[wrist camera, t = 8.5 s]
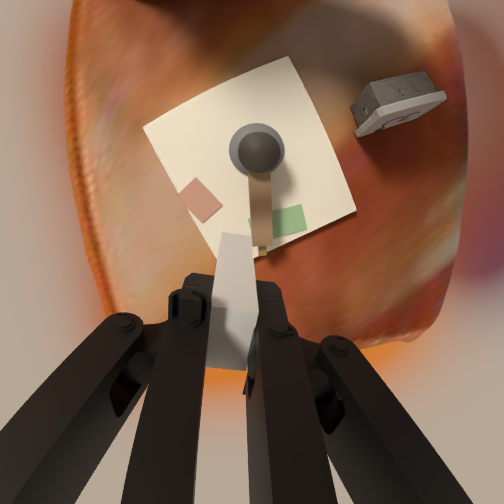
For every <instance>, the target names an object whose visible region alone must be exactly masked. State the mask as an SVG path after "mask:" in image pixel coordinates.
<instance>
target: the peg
mask: <svg viewBox="0 0 504 504" xmlns="http://www.w3.org/2000/svg"><path fill="white" fill-rule="evenodd" d="M280 154H281V151H280V146H279V143H278V142H277V140H276V139H275V138H274V137H273V136H272V135H270V134H268V133H265V132H252V133H249V134H247V135H246V136H244V137H243V138H242V140H241V141H240V143H239V146H238V157H239V160H240V162H241V164H242V165H243V166H244V167H245V168H246V169H247V170H248V185H249V203H250V220H251V238H252V246H253V247H256V246H258V255H259V256H266V255H267V251H266V246H272V245H273V226H272V196H271V169H273V168H274V167H275V166H276V165H277V163H278V161H279V159H280Z"/></svg>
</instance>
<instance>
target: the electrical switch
mask: <svg viewBox="0 0 504 504" xmlns="http://www.w3.org/2000/svg"><path fill="white" fill-rule="evenodd" d="M370 86H371V87H370ZM371 88H372V89H371ZM397 88H398V89H397ZM446 99H447V97H446V94H445V92H444V91H440V92H438V91H437V90H436V89H435V86H434V84H433V83H432V82H431V81H430V79H429V77H428V75H427V74H426V72H425V71H419V72H414V73H409V74H404V75H400V76H395V77H391V78H386V79H382V80H378V81H374V82H370V83H369V84H367V86H366V87H365V88H364V90H363V91H362V92H361V94H360V95H359V96H358V98H357V99H356V100H355V102H354V103H353V104H352V106H351V107H350V109H351V111H352V113H353V115H354V117H355V120H356V122H357V124H358V127H359V128H358V129H356V130H354V132H355V134H356V136H357V137H362V136H365V135H368V134H371V133H374V132H377V131H380V130H383V129H386V128H389V127H392V126H395V125H398V124H401V123H404V122H408V121H411V120H413V119H415V118H419V117H420V116H421V115H423V114H424V113H426V112H428V111H429V110H431V109H433V108H434V107H436V106H437V105H439V104H440V103H442V102H443V101H445V100H446Z"/></svg>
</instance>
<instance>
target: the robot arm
mask: <svg viewBox="0 0 504 504" xmlns="http://www.w3.org/2000/svg"><path fill="white" fill-rule="evenodd" d="M247 365H248V373H247V377H246V382H245V386H244V390H243V395H245V394H246V415H247V443H248V444H247V445H248V472H249V495H250V504H338V502H337V498H336V493H335V488H334V483H333V479H332V474H331V469H330V465H329V460H328V456H329V458H330V460H331V462H332V463H333V466H334V468H335V470H336V471H337V473H338V475H339V477H340V479H341V480H342V483H343V484H344V486H345V488H346V490H347V492H348V494H349V495H350V497H351V499H352V501H353V503H354V504H473V503H472V501H471V500H470V498H469V497H468V496H467V494H466V492H465V491H464V490H463V488H462V487H461V485H460V484H459V483H458V481H457V480H456V479H455V477H454V476H453V475H452V473H451V471H450V470H449V469H448V467H447V466H446V465H445V463H444V462H443V460H442V459H441V458H440V456H439V455H438V454H437V452H436V451H435V449H434V448H433V446H432V445H431V444H430V442H429V441H428V440H427V438H426V437H425V436H424V434H423V433H422V431H421V430H420V429H419V427H418V426H417V425H416V424H415V422H414V421H413V419H412V418H411V417H410V415H409V414H408V413H407V411H406V410H405V409H404V408H403V406H402V405H401V403H400V402H399V401H398V400H397V398H396V397H395V396H394V394H393V393H392V392H391V390H390V389H389V388H388V387H387V385H386V384H385V383H384V381H383V380H382V379H381V377H380V376H379V375H378V373H377V372H376V371H375V370H374V368H373V367H372V366H371V364H370V363H369V362H368V361H367V359H366V358H365V357H364V355H363V354H362V353H361V352H360V350H359V349H358V348H357V346H356V345H355V344H354V343H353V342H351V341H350V340H348V339H346V338H344V337H341V336H327V337H325V338H324V339H323V340H322V341H321V343H320V344H319V343H315V342H311V341H308V340H305V339H303V338H301V337H299V336H298V332H297V330H296V329H295V327H294V326H292V325H291V324H290V323H289V322H288V318H287V314H286V309H285V305H284V301H283V298H282V293H281V289H280V288H279V287H278V286H277V285H276V284H275V282H267V281H259V280H255V270H254V260H253V250H252V241H251V236H249V235H241V234H234V233H227V232H222V234H221V240H220V246H219V252H218V258H217V265H216V271H215V276H213V275H205V274H198V273H191V274H190V275H188V276H187V277H186V278H185V280H184V283H183V286H182V289H177V290H175V291H174V292H172V293H171V294H170V295H169V304H168V320H167V321H165V322H162V323H158V324H145V325H143V321H142V320H141V319H140V317H138V316H136V315H135V314H131V313H127V312H124V313H116V314H112V315H110V316H109V317H107V318H106V319H105V320H104V321H103V322H102V323H101V324H100V325H99V326H98V327H97V328H96V329H95V330H94V331H93V332H92V333H91V334H90V335H89V336H88V337H87V338H86V339H85V340H84V341H83V342H82V343H81V344H80V345H79V346H78V347H77V348H76V349H75V350H74V351H73V352H72V353H71V354H70V355H69V356H68V357H67V358H66V359H65V360H64V361H63V362H62V363H61V365H59V367H58V368H57V369H56V370H55V371H54V372H53V373H52V374H51V375H50V376H49V377H48V378H47V379H46V380H45V381H44V382H43V383H42V385H41V386H40V387H39V388H38V389H37V390H36V391H35V392H34V393H33V394H32V395H31V397H30V398H29V399H28V400H27V401H26V402H25V403H24V404H23V406H22V407H21V408H20V409H19V410H18V411H17V412H16V414H15V415H14V416H13V417H12V418H11V419H10V420H9V422H8V423H7V424H6V425H5V426H4V427H3V429H2V430H1V431H0V504H74V503H75V502H76V500H77V499H78V497H79V495H80V494H81V492H82V490H83V489H84V487H85V486H86V484H87V482H88V481H89V479H90V477H91V476H92V474H93V472H94V471H95V469H96V468H97V466H98V464H99V463H100V461H101V459H102V458H103V456H104V455H105V453H106V451H107V450H108V448H109V447H110V445H111V443H112V442H113V440H114V439H115V437H116V435H117V434H118V432H119V430H120V429H121V427H122V426H123V424H124V423H125V421H126V420H127V418H128V416H129V415H130V413H131V412H132V410H133V408H134V407H135V405H136V404H137V402H138V400H139V399H140V397H141V396H142V394H143V393H144V391H145V389H146V388H147V386H148V389H147V392H146V395H145V399H144V403H143V407H142V411H141V414H140V418H139V423H138V427H137V431H136V435H135V439H134V443H133V448H132V452H131V456H130V461H129V465H128V470H127V474H126V479H125V484H124V489H123V494H122V499H121V504H194V496H195V494H194V493H195V480H196V465H197V452H198V440H199V428H200V417H201V406H202V396H203V386H204V376H205V375H204V374H205V367H213V368H222V369H231V370H242V371H245V370H246V367H247ZM148 384H149V385H148ZM327 454H328V456H327Z"/></svg>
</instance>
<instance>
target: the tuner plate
mask: <svg viewBox="0 0 504 504" xmlns="http://www.w3.org/2000/svg"><path fill="white" fill-rule="evenodd" d="M143 129H144V131H145V133H146V135H147V137H148V138H149V140H150V142H151V144H152V146H153V148H154V150H155V151H156V153H157V155H158V157H159V159H160V161H161V162H162V164H163V166H164V168H165V170H166V172H167V173H168V175H169V177H170V179H171V181H172V182H173V184H174V186H175V188H176V190H177V191H178V193H179V194H178V195H177V196H176V197H177V198H178V199H179V200H180V201H181V202H182V203H183V204H184V205H185V206H186V207H187V209H188V211H189V213H190V214H191V216H192V218H193V220H194V221H195V223H196V225H197V226H198V228H199V230H200V232H201V233H202V235H203V237H204V239H205V240H206V242H207V244H208V245H209V247H210V249H211V250H212V252H213V254H214V256H215V257H216V259H217V258H218V252H219V246H220V240H221V234H222V232H227V233H234V234H241V235H249V236H251V220H250V203H249V185H248V170H247V169H246V168H245V167H244V166H243V165H242V164H241V162H240V160H239V157H238V146H239V143H240V141H241V140H242V138H243V137H244V136H246V135H247V134H249V133H252V132H265V133H268V134H270V135H272V136H273V137H274V138H275V139H276V140H277V142H278V143H279V146H280V151H281V154H280V159H279V161H278V163H277V165H276V166H275V167H274V168H273V169H271V196H272V226H273V245H272V246H266V251H267V252H268V251H270V250H272V249H275V248H277V247H279V246H281V245H283V244H285V243H288V242H290V241H292V240H294V239H296V238H298V237H300V236H303V235H305V234H307V233H309V232H311V231H313V230H315V229H318V228H320V227H322V226H324V225H326V224H328V223H330V222H333V221H335V220H337V219H339V218H341V217H343V216H345V215H348V214H350V213H352V212H354V211H356V207H355V204H354V201H353V199H352V196H351V193H350V190H349V188H348V185H347V182H346V180H345V177H344V175H343V172H342V169H341V167H340V164H339V162H338V159H337V157H336V155H335V152H334V150H333V147H332V145H331V143H330V140H329V138H328V136H327V133H326V131H325V129H324V127H323V124H322V122H321V120H320V118H319V116H318V114H317V111H316V109H315V107H314V105H313V103H312V101H311V99H310V97H309V95H308V93H307V91H306V89H305V87H304V85H303V83H302V81H301V79H300V77H299V75H298V73H297V71H296V70H295V68H294V66H293V64H292V62H291V60H290V58H289V57H288V56H286V57H284V58H281V59H278V60H275V61H273V62H270V63H268V64H265V65H263V66H260V67H258V68H255V69H253V70H251V71H248V72H246V73H244V74H241V75H239V76H237V77H235V78H232V79H230V80H228V81H226V82H224V83H222V84H220V85H218V86H216V87H213V88H211V89H209V90H207V91H206V92H204V93H202V94H200V95H198V96H196V97H194V98H192V99H190V100H188V101H187V102H185V103H183V104H181V105H179V106H178V107H176V108H174V109H172V110H171V111H169V112H167V113H165V114H164V115H162V116H160V117H159V118H157V119H155V120H154V121H152V122H151V123H149V124H147V125H146V126H144V127H143ZM251 241H252V238H251ZM252 250H253V258H255V257H257V256H259V255H258V246H256V247H253V246H252Z"/></svg>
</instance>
